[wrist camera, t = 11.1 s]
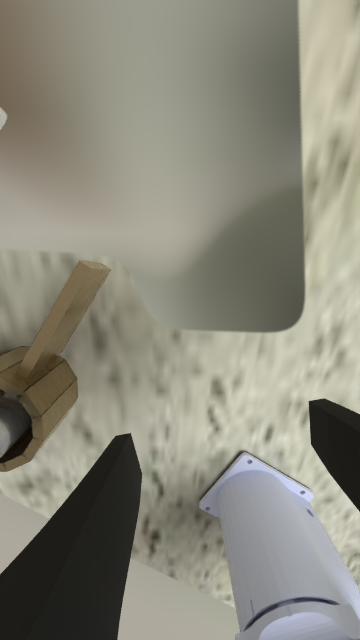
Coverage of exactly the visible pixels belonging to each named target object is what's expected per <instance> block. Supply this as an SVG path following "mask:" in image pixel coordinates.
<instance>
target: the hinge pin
mask: <svg viewBox="0 0 360 640" xmlns="http://www.w3.org/2000/svg"><path fill="white" fill-rule="evenodd" d="M31 425H32V420H31V416H30V415H29V414H28V412H27V411H26V410H25V408H24V407H23V405H22V404H21V403H20V401H19V400H18V399H17V398H16V397H14V396H12V395H10V394H9V393H7V392H5V391H4V392H3V393H1V394H0V458H1V457H2V456H3V455H4V454H5V453H6V452H7V450H8V449H9V448H10V447H11V446H12V445H13V444H14V443H15V442H16V441H17V440H18V439H19V438H20V437H21V436H22V435H23V434H24V433H25V431H26V430H27V429H28V428H29V427H30V426H31Z"/></svg>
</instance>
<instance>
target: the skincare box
mask: <svg viewBox="0 0 360 640" xmlns="http://www.w3.org/2000/svg"><path fill="white" fill-rule="evenodd" d="M6 120H7V114H6V113H5V112H4V110H3V109H2V108H0V131H1V129H2V127H3V126H4V124H5V122H6Z"/></svg>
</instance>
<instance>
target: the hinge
mask: <svg viewBox="0 0 360 640" xmlns="http://www.w3.org/2000/svg"><path fill="white" fill-rule="evenodd" d="M109 272H110V269H109V268H107V267H106V266H104V265H103V264H99V263H92V262H85V261H79V262H78V264H77V266H76V268H75V269H74V271H73V273H72V275H71V276H70V278H69V280H68V282H67V283H66V285H65V287H64V289H63V290H62V292H61V294H60V296H59V298H58V299H57V301H56V303H55V305H54V306H53V308H52V310H51V312H50V313H49V315H48V317H47V319H46V320H45V322H44V324H43V326H42V327H41V329H40V331H39V333H38V335H37V336H36V338H35V340H34V342H33V343H32V345H31V347H24V346H21V347H18V348H16V349H14V350H12V351H9V352H7V353H5V354H3V355H1V356H0V394H1V393H2V390H3V391H5V392H7V393H9V394H10V395H12V396H14V397H16V398H17V399H18V400H19V401H20V403H21V404H22V405H23V407H24V408H25V410H26V411H27V412H28V414H29V415H30V416H31V420H32V425H31V426H30V427H29V428H28V429H27V430H26V431H25V433H24V434H23V435H22V436H21V437H20V438H19V439H18V440H17V441H16V442H15V443H14V444H13V445H12V446H11V447H10V448H9V449H8V450H7V452H6V453H5V454H4V455H3V456H2V457H1V458H0V471H1V472H6V471H10V470H12V469H14V468H16V467H19V466H21V465H23V464H25V463H28V462H30V461H31V460H32V459H33V458H34V456H35V455H36V454H37V452H38V451H39V450H40V449H41V447H42V446H43V445H44V443H45V442H46V441H47V439H48V438H49V437H50V436H51V434H52V433H53V432H54V430H55V429H56V428H57V426H58V425H59V424H60V423H61V421H62V420H63V419H64V417H65V416H66V415H67V414H68V412H69V410H70V409H71V407H72V406H73V404H74V403H75V401H76V400H77V398H78V394H77V379H76V378H77V377H76V376H75V374H74V373H73V371H72V370H71V368H70V367H69V365H68V364H67V362H66V361H65V360H64V359H63V358H61V357H59V355H60V353H61V352H62V350H63V348H64V347H65V345H66V343H67V342H68V340H69V338H70V337H71V335H72V333H73V332H74V330H75V328H76V327H77V325H78V324H79V322H80V320H81V319H82V317H83V315H84V314H85V312H86V310H87V309H88V307H89V305H90V304H91V302H92V300H93V299H94V297H95V295H96V294H97V292H98V290H99V289H100V287H101V285H102V284H103V282H104V280H105V279H106V277H107V275H108V274H109Z"/></svg>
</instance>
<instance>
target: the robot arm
mask: <svg viewBox="0 0 360 640" xmlns="http://www.w3.org/2000/svg"><path fill="white" fill-rule="evenodd" d="M309 415H310V433H311V445H312V447H313V448H314V450H315V451H316V453H317V455H318V456H319V458H320V459H321V461H322V462H323V464H324V465H325V467H326V468H327V470H328V472H329V473H330V474H331V476H332V477H333V478H334V480H335V481H336V482H337V483H338V485H339V486H340V487H341V489H342V490H343V491H344V492H345V494H346V495H347V496H348V497H349V499H350V500H351V501H352V502H353V504H354V505H355V506H356V508H357V509H358V510H359V511H360V414H358V413H356V412H354V411H351V410H349V409H347V408H345V407H343V406H341V405H338V404H336V403H334V402H331V401H329V400H327V399H319V400H313V401H309ZM248 460H249V461H248ZM141 482H142V472H141V468H140V465H139V461H138V458H137V454H136V450H135V447H134V443H133V440H132V436H131V433H129V434H123V435H118V436H115V438H114V439H113V440H112V441H111V443H110V444H109V445H108V447H107V448H106V449H105V451H104V452H103V453H102V455H101V456H100V457H99V459H98V460H97V461H96V463H95V464H94V465H93V467H92V468H91V469H90V471H89V472H88V473H87V474H86V476H85V477H84V478H83V480H82V481H81V482H80V483H79V485H78V486H77V487H76V489H75V490H74V491H73V492H72V493H71V495H70V496H69V497H68V498H67V500H66V501H65V502H64V503H63V504H62V506H61V507H60V508H59V509H58V510H57V512H56V513H55V514H54V515H53V516H52V518H51V519H50V520H49V521H48V522H47V524H46V525H45V526H44V527H43V528H42V529H41V531H40V532H39V533H38V534H37V535H36V536H35V537H34V538H33V540H32V541H31V542H30V543H29V544H28V545H27V546H26V547H25V548H24V550H23V551H22V552H21V553H20V554H19V555H18V556H17V557H16V558H15V559H14V560H13V561H12V562H11V564H10V565H9V566H8V567H7V568H6V569H5V570H4V571H3V572H2V573H1V574H0V640H117V636H118V628H119V620H120V614H121V607H122V601H123V595H124V590H125V584H126V578H127V573H128V567H129V562H130V557H131V551H132V546H133V540H134V534H135V529H136V523H137V517H138V512H139V506H140V495H141ZM313 498H314V494H313V492H312V491H311V490H310V489H308V488H306V487H305V486H303V485H301V484H300V483H298V482H296V481H295V480H293V479H291V478H289V477H288V476H286V475H284V474H283V473H281V472H279V471H278V470H276V469H274V468H272V467H271V466H269V465H267V464H266V463H264V462H262V461H260V460H259V459H257V458H255V457H254V456H252V455H250V454H249V453H246V452H244V453H242V454H241V455H240V456H239V457H238V458H237V459H236V460H235V461H234V463H233V464H232V465H231V466H230V467H229V468H228V469H227V471H226V472H225V473H224V474H223V475H222V476H221V477H220V479H219V480H218V481H217V482H216V483H215V484H214V485H213V487H212V488H211V489H210V490H209V491H208V492H207V493H206V495H205V496H204V497H203V498H202V499H201V500H200V502H199V508H200V509H201V510H203V511H205V512H207V513H209V514H211V515H213V516H215V517H217V518H218V519H220V524H221V530H222V535H223V541H224V546H225V552H226V557H227V563H228V568H229V574H230V579H231V584H232V590H233V595H234V601H235V606H236V612H237V617H238V622H239V628H240V633H239V634H236V635H235V639H236V640H360V591H359V589H358V586H357V584H356V582H355V580H354V578H353V576H352V574H351V572H350V571H349V569H348V567H347V566H346V564H345V562H344V560H343V559H342V557H341V555H340V554H339V552H338V550H337V549H336V547H335V545H334V543H333V542H332V540H331V538H330V537H329V535H328V533H327V532H326V530H325V528H324V527H323V525H322V523H321V521H320V520H319V518H318V516H317V515H316V513H315V511H314V510H313V508H312V506H311V505H310V503H309V502H310V501H311V500H312V499H313Z"/></svg>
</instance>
